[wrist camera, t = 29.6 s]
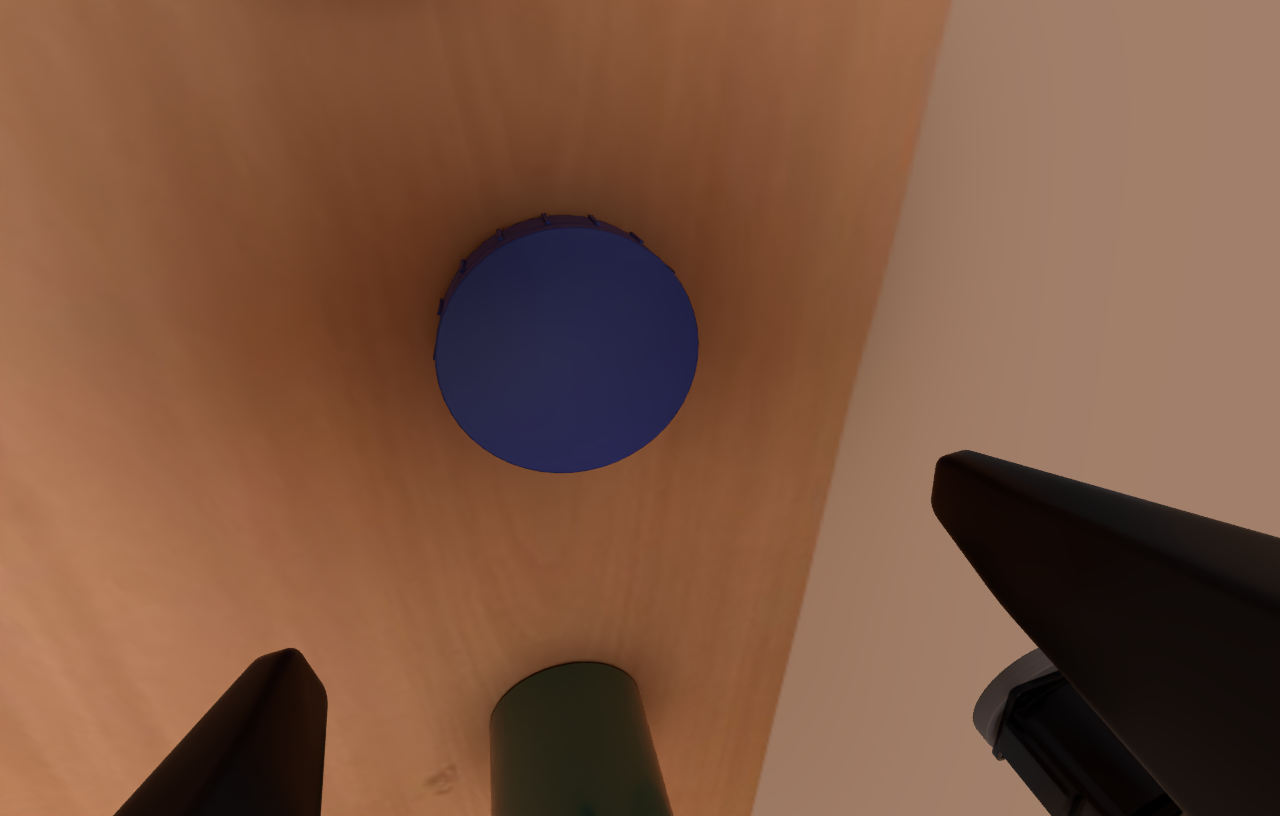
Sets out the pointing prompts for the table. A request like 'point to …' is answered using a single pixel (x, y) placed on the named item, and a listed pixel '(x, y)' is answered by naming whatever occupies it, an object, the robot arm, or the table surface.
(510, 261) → the lid
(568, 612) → the table surface
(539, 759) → the jar
